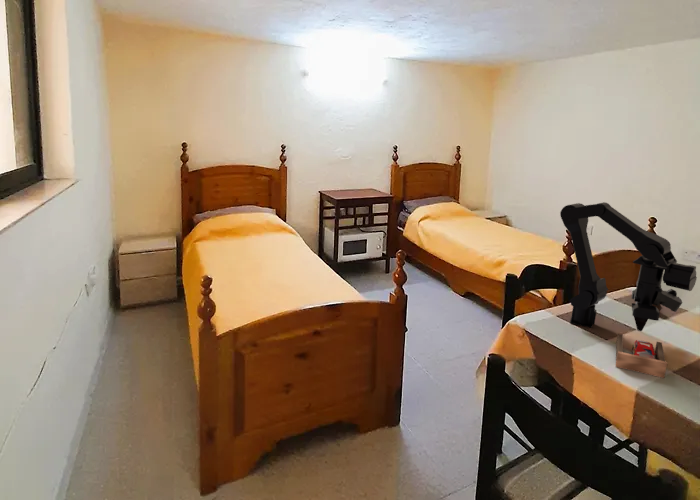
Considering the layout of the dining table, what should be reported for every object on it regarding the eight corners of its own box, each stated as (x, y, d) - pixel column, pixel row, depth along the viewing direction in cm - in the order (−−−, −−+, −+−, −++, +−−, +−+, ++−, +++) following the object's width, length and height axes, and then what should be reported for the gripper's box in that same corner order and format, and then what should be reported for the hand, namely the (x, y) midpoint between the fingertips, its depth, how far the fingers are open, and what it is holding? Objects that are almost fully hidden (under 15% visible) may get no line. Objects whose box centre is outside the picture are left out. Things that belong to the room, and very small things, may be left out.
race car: (654, 372, 122) (657, 358, 121) (631, 366, 125) (633, 353, 123) (653, 352, 133) (656, 339, 132) (631, 347, 135) (634, 334, 134)
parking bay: (615, 366, 124) (618, 353, 123) (616, 342, 137) (618, 330, 136) (664, 377, 118) (667, 363, 117) (659, 352, 132) (662, 339, 131)
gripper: (687, 296, 122) (674, 349, 126) (679, 277, 138) (669, 325, 142) (637, 288, 127) (627, 340, 131) (636, 270, 143) (627, 317, 147)
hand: (639, 330), depth 138 cm, fingers closed
